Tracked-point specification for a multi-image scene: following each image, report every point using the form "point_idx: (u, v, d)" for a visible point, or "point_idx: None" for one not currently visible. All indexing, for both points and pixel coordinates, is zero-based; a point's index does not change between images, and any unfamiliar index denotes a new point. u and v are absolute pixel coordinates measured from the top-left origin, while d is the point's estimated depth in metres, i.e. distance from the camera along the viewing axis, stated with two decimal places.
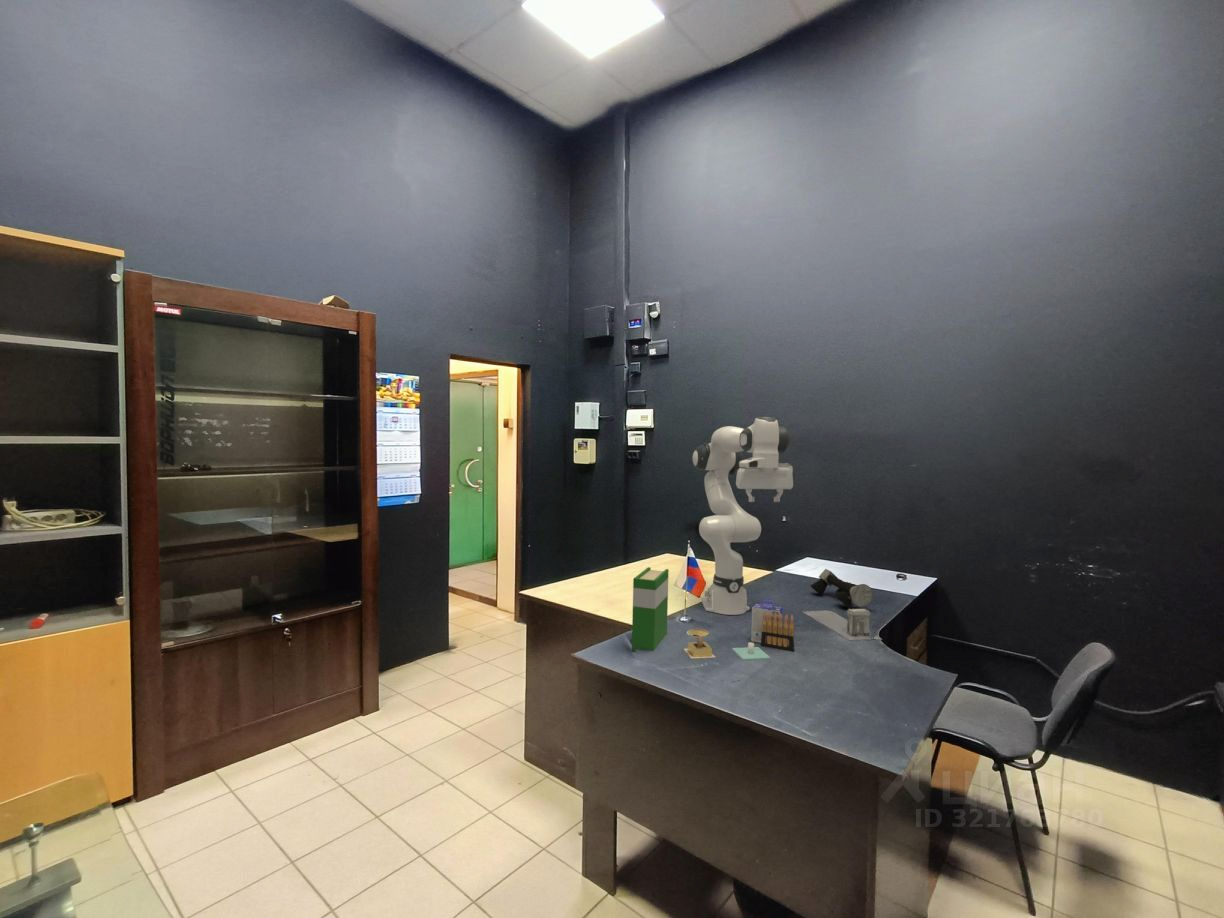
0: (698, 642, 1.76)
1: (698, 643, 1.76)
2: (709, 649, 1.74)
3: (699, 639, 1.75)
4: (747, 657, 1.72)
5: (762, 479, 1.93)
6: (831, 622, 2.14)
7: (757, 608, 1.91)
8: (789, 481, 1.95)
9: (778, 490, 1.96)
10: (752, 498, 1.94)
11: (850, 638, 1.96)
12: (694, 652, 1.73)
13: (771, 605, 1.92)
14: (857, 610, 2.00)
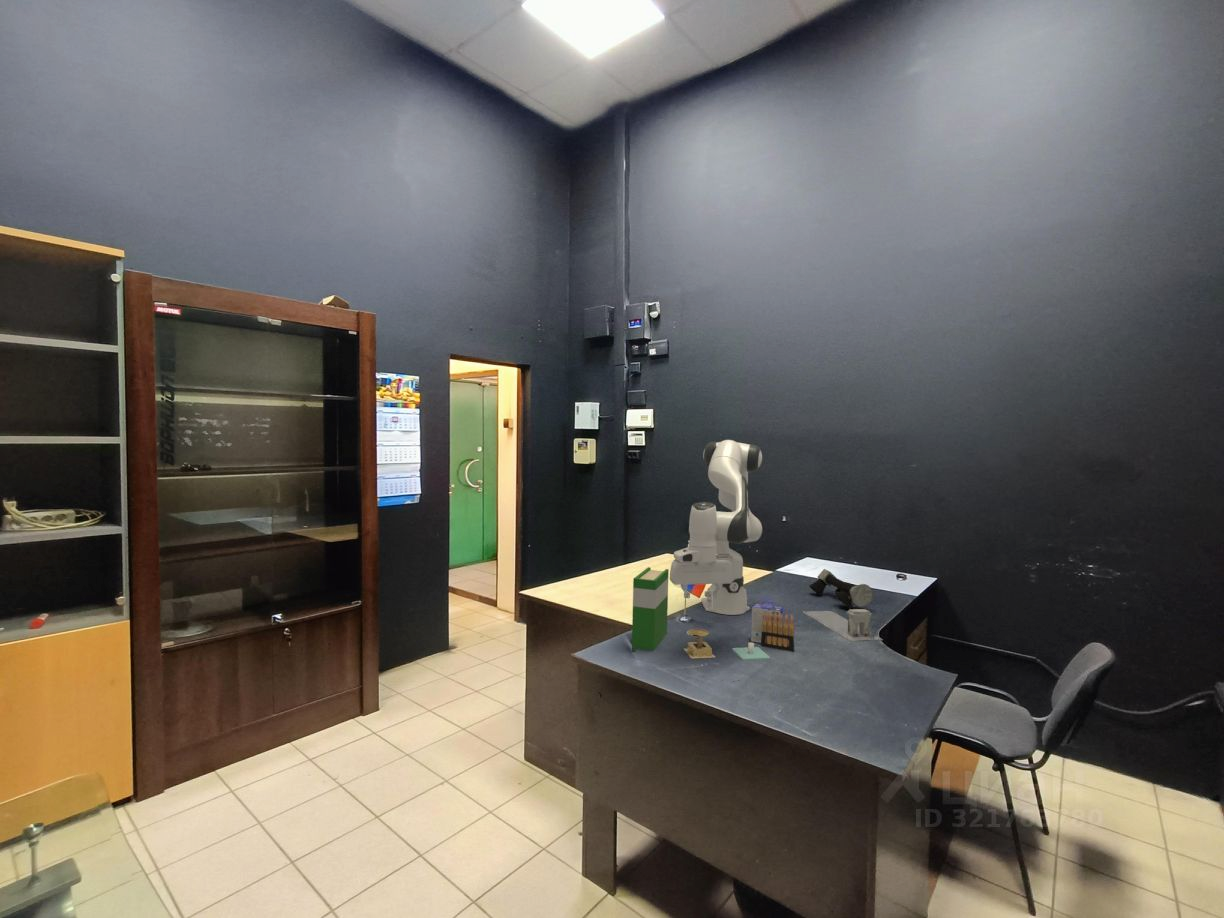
0: (698, 642, 1.76)
1: (698, 643, 1.76)
2: (709, 649, 1.74)
3: (699, 639, 1.75)
4: (747, 657, 1.72)
5: (698, 573, 1.74)
6: (832, 622, 2.14)
7: (757, 608, 1.91)
8: (729, 575, 1.75)
9: (717, 584, 1.76)
10: (687, 594, 1.74)
11: (851, 639, 1.96)
12: (694, 652, 1.73)
13: (771, 605, 1.92)
14: (858, 610, 1.99)
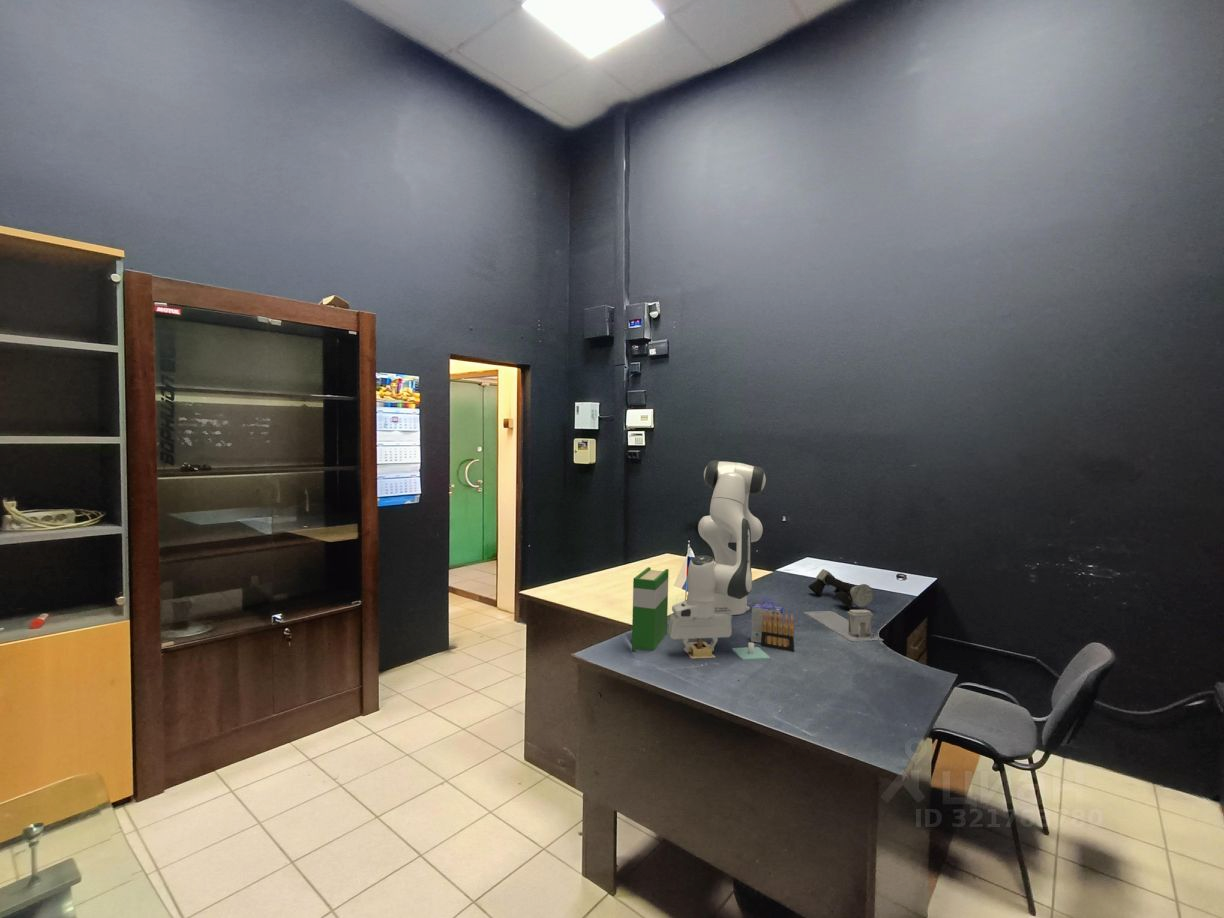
0: (698, 642, 1.76)
1: (698, 643, 1.76)
2: (709, 649, 1.74)
3: (699, 639, 1.75)
4: (747, 657, 1.72)
5: (696, 627, 1.74)
6: (833, 622, 2.13)
7: (757, 608, 1.91)
8: (727, 629, 1.76)
9: (712, 638, 1.77)
10: (689, 648, 1.75)
11: (851, 639, 1.95)
12: (694, 652, 1.73)
13: (771, 605, 1.92)
14: (858, 611, 1.99)
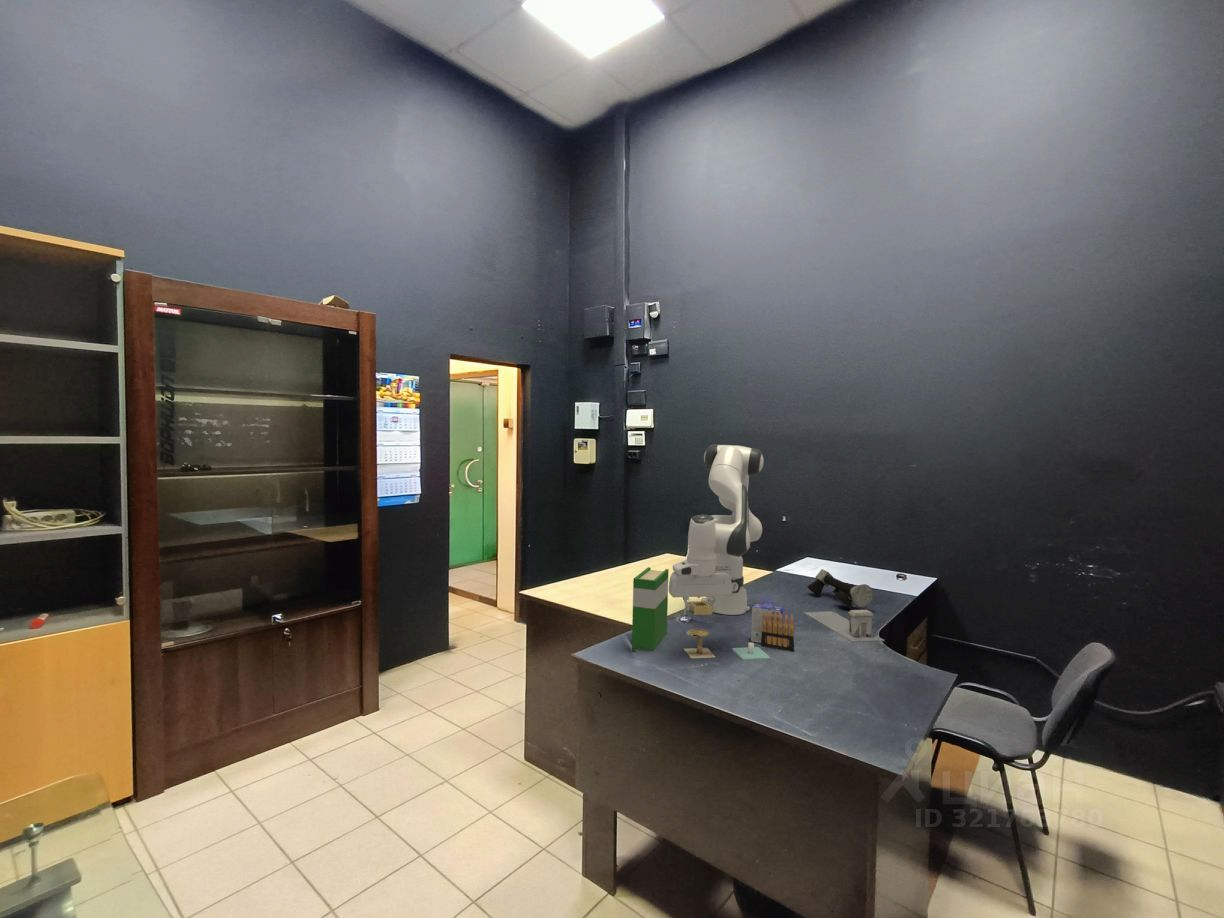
0: (698, 642, 1.76)
1: (698, 643, 1.76)
2: (710, 607, 1.74)
3: (699, 639, 1.75)
4: (747, 657, 1.72)
5: (697, 586, 1.74)
6: (833, 623, 2.13)
7: (757, 608, 1.91)
8: (728, 587, 1.76)
9: (713, 596, 1.77)
10: (689, 607, 1.75)
11: (852, 639, 1.95)
12: (695, 610, 1.73)
13: (771, 605, 1.92)
14: (859, 611, 1.99)
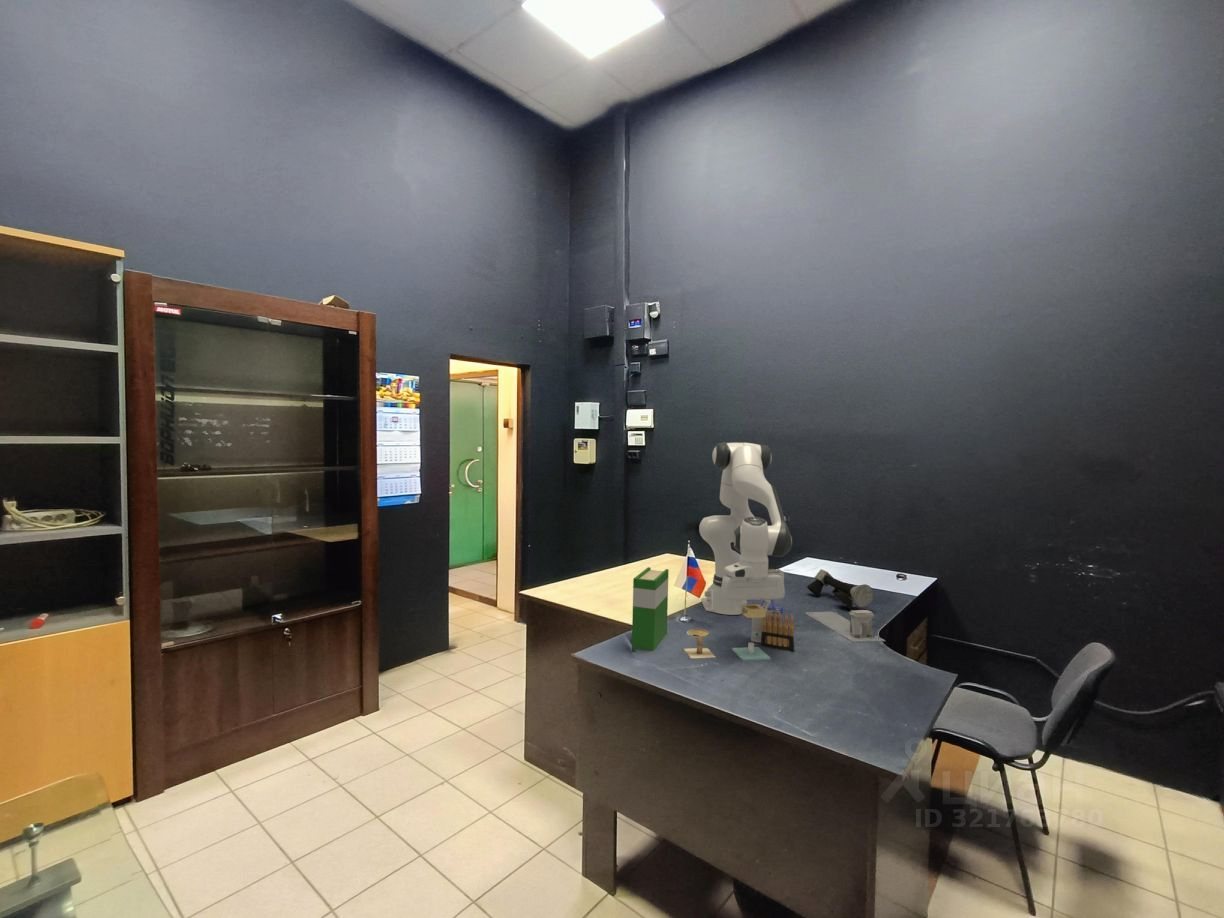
0: (698, 642, 1.76)
1: (698, 643, 1.76)
2: (763, 610, 1.73)
3: (699, 639, 1.75)
4: (747, 657, 1.72)
5: (750, 588, 1.73)
6: (834, 623, 2.13)
7: None
8: (780, 590, 1.75)
9: (765, 599, 1.76)
10: (742, 609, 1.74)
11: (853, 640, 1.95)
12: (748, 613, 1.72)
13: (771, 605, 1.92)
14: (860, 611, 1.98)
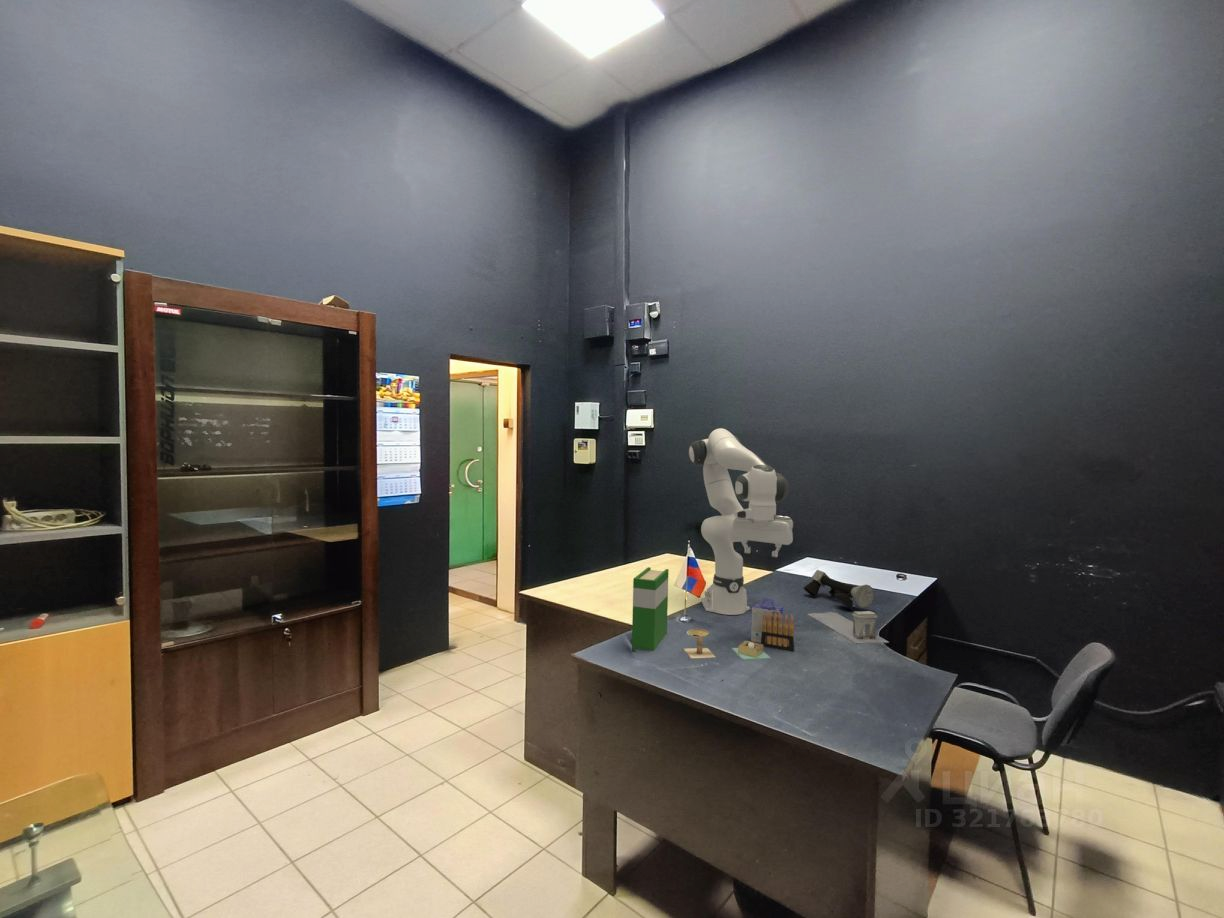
0: (698, 642, 1.76)
1: (698, 643, 1.76)
2: (754, 650, 1.73)
3: (699, 639, 1.75)
4: (747, 657, 1.72)
5: (754, 530, 1.86)
6: (837, 624, 2.11)
7: (757, 608, 1.91)
8: (784, 536, 1.80)
9: None
10: (746, 549, 1.88)
11: (856, 641, 1.93)
12: (739, 649, 1.75)
13: (771, 605, 1.92)
14: (863, 612, 1.97)
